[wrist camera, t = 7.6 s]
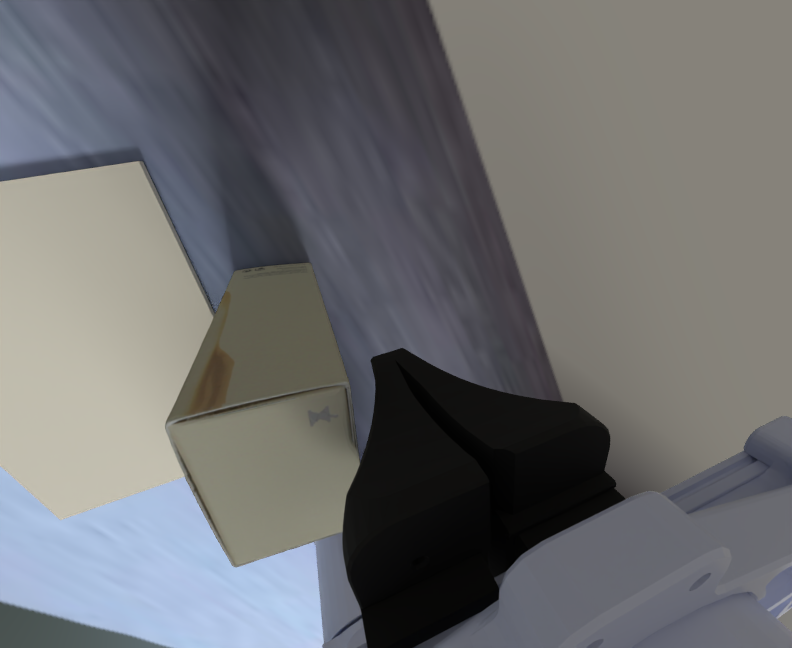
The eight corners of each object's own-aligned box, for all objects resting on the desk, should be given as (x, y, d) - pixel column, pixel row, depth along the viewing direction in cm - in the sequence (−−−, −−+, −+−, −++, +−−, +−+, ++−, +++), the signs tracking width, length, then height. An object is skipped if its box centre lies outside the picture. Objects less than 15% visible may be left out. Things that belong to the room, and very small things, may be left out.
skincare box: (231, 268, 17) (147, 411, 7) (312, 260, 18) (351, 370, 8) (258, 367, 20) (228, 580, 9) (326, 354, 21) (369, 531, 10)
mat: (274, 440, 22) (274, 445, 22) (65, 512, 20) (60, 520, 19) (142, 161, 14) (138, 161, 14) (-249, 220, 11) (-270, 222, 11)
